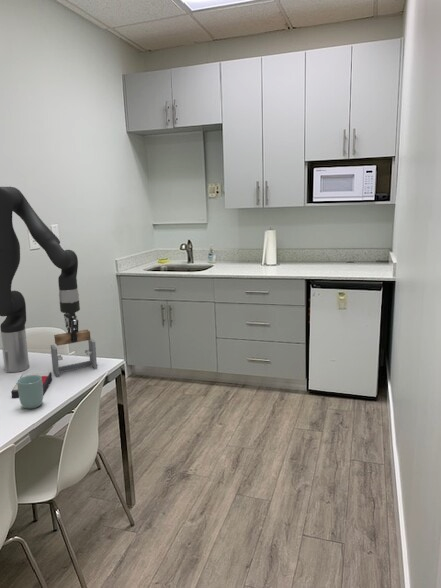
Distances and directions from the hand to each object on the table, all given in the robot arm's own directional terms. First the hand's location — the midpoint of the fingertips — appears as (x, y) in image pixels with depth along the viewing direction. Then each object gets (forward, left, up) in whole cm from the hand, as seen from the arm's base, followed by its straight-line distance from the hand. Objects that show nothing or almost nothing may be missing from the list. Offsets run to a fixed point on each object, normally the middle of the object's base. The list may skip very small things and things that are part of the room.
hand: (72, 340), depth 180 cm
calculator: (-18, -9, -14) cm, 25 cm away
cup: (-21, -24, -14) cm, 35 cm away
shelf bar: (0, 0, -1) cm, 1 cm away
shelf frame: (0, 0, -13) cm, 13 cm away
